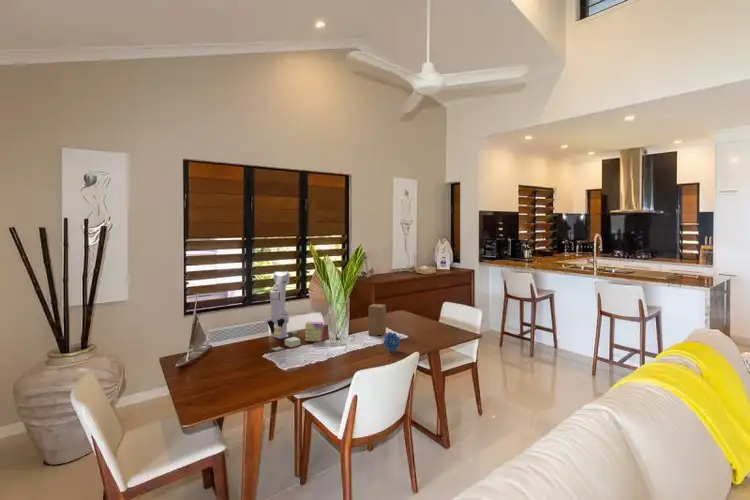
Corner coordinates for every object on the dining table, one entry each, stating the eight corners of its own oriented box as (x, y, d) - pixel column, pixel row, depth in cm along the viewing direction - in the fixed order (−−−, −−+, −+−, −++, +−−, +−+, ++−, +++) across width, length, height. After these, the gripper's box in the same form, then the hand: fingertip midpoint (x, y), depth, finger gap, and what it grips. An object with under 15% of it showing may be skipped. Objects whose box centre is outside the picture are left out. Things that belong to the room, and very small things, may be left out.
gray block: (288, 339, 248) (288, 332, 248) (292, 338, 252) (292, 330, 251) (293, 340, 246) (293, 333, 245) (298, 339, 249) (297, 331, 249)
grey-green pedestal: (284, 345, 237) (284, 339, 236) (294, 343, 242) (294, 336, 241) (290, 347, 232) (290, 341, 232) (300, 345, 237) (300, 339, 237)
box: (323, 339, 250) (322, 321, 249) (320, 341, 244) (320, 323, 243) (307, 338, 251) (307, 321, 250) (305, 341, 245) (305, 323, 244)
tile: (270, 349, 228) (270, 348, 228) (279, 347, 232) (279, 346, 232) (276, 351, 224) (276, 350, 224) (284, 349, 228) (284, 348, 228)
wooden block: (368, 335, 259) (368, 306, 258) (372, 331, 269) (372, 303, 268) (382, 336, 256) (382, 307, 255) (386, 332, 266) (386, 304, 265)
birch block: (271, 334, 234) (270, 326, 234) (277, 333, 237) (277, 325, 237) (274, 336, 231) (274, 328, 231) (281, 334, 234) (281, 326, 234)
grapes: (387, 355, 218) (387, 335, 217) (381, 352, 223) (381, 332, 223) (403, 352, 224) (403, 332, 223) (397, 349, 229) (397, 329, 229)
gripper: (268, 313, 225) (268, 335, 226) (289, 309, 236) (289, 330, 236) (262, 311, 230) (262, 333, 231) (283, 307, 241) (283, 328, 241)
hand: (276, 331), depth 234 cm, fingers closed on birch block, 4 cm apart
